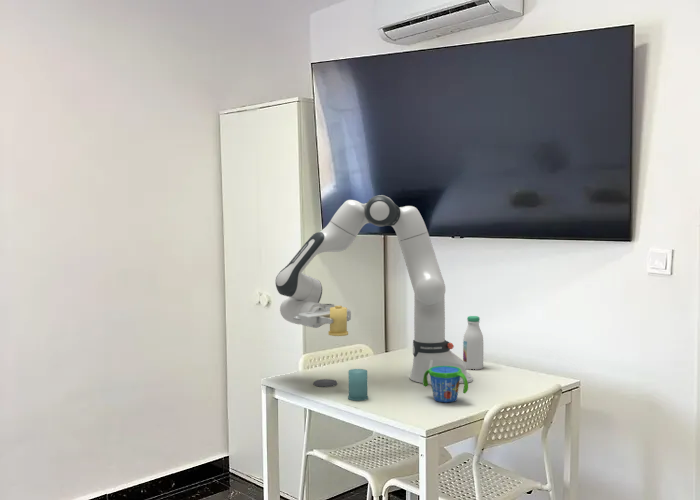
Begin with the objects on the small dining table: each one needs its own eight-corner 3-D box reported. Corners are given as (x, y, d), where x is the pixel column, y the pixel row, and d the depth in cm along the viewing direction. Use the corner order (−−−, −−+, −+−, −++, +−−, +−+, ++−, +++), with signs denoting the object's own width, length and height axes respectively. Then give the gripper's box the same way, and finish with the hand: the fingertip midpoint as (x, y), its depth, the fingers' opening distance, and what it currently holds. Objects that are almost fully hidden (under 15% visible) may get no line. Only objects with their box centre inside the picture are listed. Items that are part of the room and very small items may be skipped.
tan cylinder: (347, 332, 242) (347, 304, 241) (349, 336, 235) (349, 307, 234) (327, 332, 241) (327, 304, 241) (328, 336, 235) (329, 307, 234)
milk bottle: (486, 367, 271) (486, 316, 270) (478, 371, 265) (479, 319, 263) (467, 364, 275) (468, 314, 274) (459, 368, 269) (460, 317, 268)
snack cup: (416, 398, 228) (416, 368, 228) (435, 392, 236) (435, 362, 235) (455, 408, 218) (455, 376, 217) (474, 401, 225) (474, 370, 225)
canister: (367, 394, 233) (366, 368, 233) (369, 400, 227) (368, 373, 226) (347, 395, 233) (347, 368, 232) (348, 401, 226) (348, 373, 226)
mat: (336, 380, 252) (336, 378, 252) (337, 386, 244) (337, 384, 244) (313, 381, 252) (313, 379, 252) (313, 387, 243) (313, 385, 243)
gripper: (290, 309, 240) (316, 314, 230) (335, 303, 254) (361, 307, 244) (290, 327, 241) (316, 333, 230) (335, 320, 254) (361, 325, 244)
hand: (340, 320), depth 237 cm, fingers closed on tan cylinder, 6 cm apart
